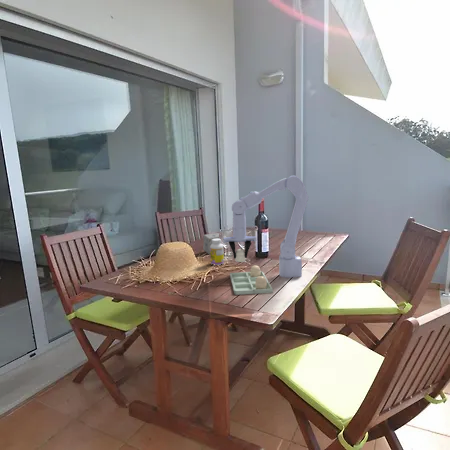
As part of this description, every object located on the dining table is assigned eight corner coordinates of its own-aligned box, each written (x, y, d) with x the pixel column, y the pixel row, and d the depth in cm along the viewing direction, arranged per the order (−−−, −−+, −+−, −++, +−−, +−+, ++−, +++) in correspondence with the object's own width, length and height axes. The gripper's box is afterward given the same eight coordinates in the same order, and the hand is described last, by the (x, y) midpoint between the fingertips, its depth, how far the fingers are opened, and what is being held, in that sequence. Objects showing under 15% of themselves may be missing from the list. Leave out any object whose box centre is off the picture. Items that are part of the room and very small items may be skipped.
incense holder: (209, 255, 184) (208, 236, 182) (203, 251, 191) (202, 234, 189) (224, 252, 189) (224, 234, 187) (217, 249, 196) (217, 232, 194)
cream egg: (244, 259, 149) (244, 247, 148) (245, 261, 145) (245, 249, 144) (235, 259, 149) (234, 247, 148) (235, 262, 145) (235, 250, 144)
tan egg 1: (259, 275, 145) (259, 263, 144) (261, 279, 140) (261, 266, 139) (249, 276, 144) (249, 264, 143) (251, 279, 140) (250, 267, 139)
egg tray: (262, 276, 146) (262, 271, 146) (272, 294, 125) (272, 289, 125) (230, 277, 145) (229, 272, 145) (234, 296, 124) (234, 291, 124)
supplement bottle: (209, 263, 168) (208, 238, 166) (221, 261, 171) (220, 237, 168) (213, 266, 162) (212, 241, 160) (225, 264, 165) (224, 240, 162)
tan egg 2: (265, 287, 131) (265, 274, 130) (267, 291, 126) (267, 277, 125) (254, 287, 131) (254, 274, 130) (256, 291, 126) (256, 278, 125)
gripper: (254, 225, 148) (255, 254, 151) (222, 226, 148) (223, 255, 150) (256, 228, 141) (257, 258, 144) (223, 229, 141) (224, 260, 143)
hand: (240, 257), depth 147 cm, fingers closed on cream egg, 4 cm apart
